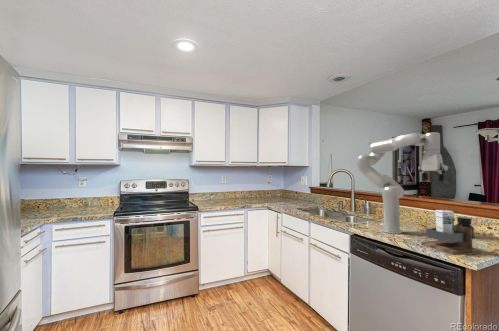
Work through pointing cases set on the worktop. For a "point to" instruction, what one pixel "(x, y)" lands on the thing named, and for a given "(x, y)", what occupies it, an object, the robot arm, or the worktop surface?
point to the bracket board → (453, 247)
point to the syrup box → (445, 221)
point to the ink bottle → (465, 223)
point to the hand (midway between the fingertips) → (432, 180)
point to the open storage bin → (446, 235)
